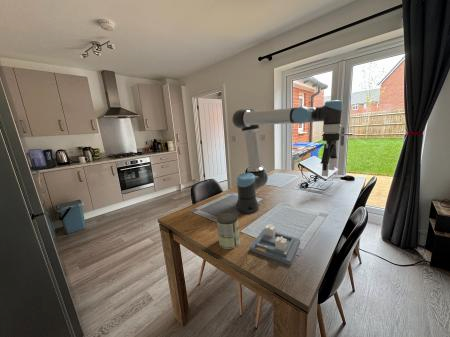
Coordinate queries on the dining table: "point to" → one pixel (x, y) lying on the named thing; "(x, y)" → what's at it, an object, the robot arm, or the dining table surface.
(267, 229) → the tab
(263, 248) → the switch board
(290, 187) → the dining table surface
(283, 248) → the tab
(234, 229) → the coffee can
